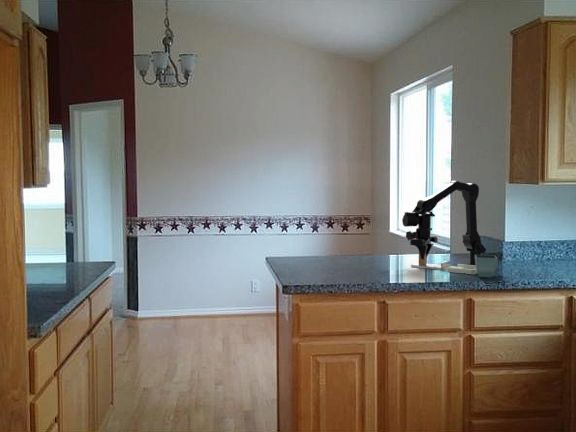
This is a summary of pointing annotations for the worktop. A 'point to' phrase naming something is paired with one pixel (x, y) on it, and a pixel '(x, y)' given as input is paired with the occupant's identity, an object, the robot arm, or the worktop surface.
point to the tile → (452, 267)
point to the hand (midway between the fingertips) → (423, 258)
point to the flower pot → (486, 265)
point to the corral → (467, 269)
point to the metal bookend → (423, 264)
